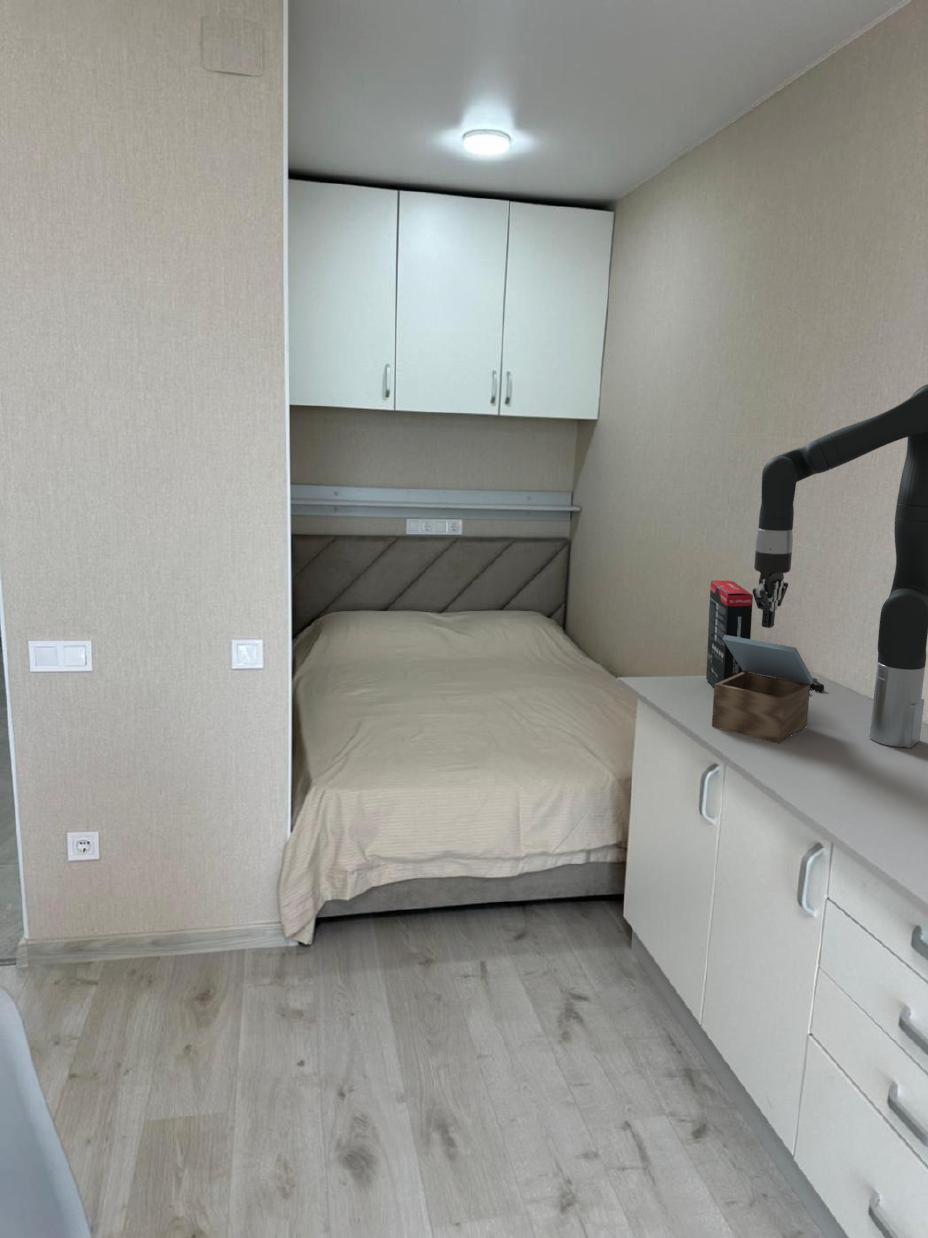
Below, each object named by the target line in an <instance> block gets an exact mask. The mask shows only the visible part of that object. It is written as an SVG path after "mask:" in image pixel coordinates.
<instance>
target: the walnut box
mask: <svg viewBox="0 0 928 1238" xmlns="http://www.w3.org/2000/svg"><path fill="white" fill-rule="evenodd" d="M810 693H811V689H810V685H807V684H803V683H798V682H793V681H788V680H783V679H778V678H775V677H770V676H765V675H760V674H756V673H751V672H745V671H743V672H741V673H739V674H736V675H734V676H732V677H730V678H727V679H725V680H723V681H721V682H718V683H716V684H714V688H713V701H712V703H713V704H712V720H711V727H713V728H718V729H721V730H725V731H730V732H733V733H737V734H739V735H740V734H741V735H744V736H748V737H751V738H752V737H753V738H757V739H760V740H763V741H764V740H765V741H768V742H772V743H775V742H777V743H776V744H781V743H783V742H784V741H786V740H787V738H788V739H789V738H791V737H792V736H791V735H793V734H794V735H796V734H797V732H798V731H799V732H801V731H803V730H804V729H803V728H805V727H806V726H808V715H809V714H808V713H809V706H810V705H809V704H810ZM806 728H807V727H806ZM806 728H805V729H806ZM802 729H803V730H802ZM800 730H801V731H800ZM799 732H798V733H799ZM795 733H796V734H795ZM794 735H793V736H794ZM790 736H791V737H790ZM780 742H781V743H780Z"/></svg>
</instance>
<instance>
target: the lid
mask: <svg viewBox="0 0 928 1238" xmlns="http://www.w3.org/2000/svg"><path fill="white" fill-rule="evenodd" d="M723 641H724V642H725V644H726V645H727V647H728V649H729V650H730V652H731V653H732V655H733V656H734V658H735V659H736V661H737V662H738V664H739V665H740V667H741V669H742V670H743V671H746V672H750V673H754V674H759V675H764V676H769V677H774V678H780V679H784V680H789V681H794V682H799V683H804V684H809V685H811V684H812V682H813V678H814V677H813V676H812V675H811V672H810V671H809V669H808V667H807V665H806V663H805V661H804V659H803V658H802V656H801V654H800V652H799V651H798V649H797V648H796V647H795V646H790V645H789V646H788V645H783V644H777V643H771V642H766V641H761V640H756V639H751V638H750V639H745V638H740V637H734V636H729V635H724V637H723Z"/></svg>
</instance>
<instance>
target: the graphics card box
mask: <svg viewBox="0 0 928 1238" xmlns="http://www.w3.org/2000/svg"><path fill="white" fill-rule="evenodd" d="M709 585H710V586H709V587H710V588H709V589H710V590H709V606H708V607H709V611H708V632H707V634H708V635H707V653H706V677H705V678H706V680H707V682H708V683H709V684H710V686H712V688H713V689H714V684H716V683H718V682H721V681H723V680H725V679H727V678H730V677H732V676H734V675H736V674H739V673H741V672H743V670H742V669H741V667H740V665H739V664H738V662H737V661H736V659H735V658H734V656H733V655H732V653H731V652H730V650H729V649H728V647H727V645H726V644H725V642H724V641H723V637H724V635H729V636H734V637H740V638H745V639H751V638H752V637H751V636H752V619H753V617H752V616H753V603H754V601H753V599H754V595H753V593H752V594H751V592H749V591H747V590H746V589H745V588H743V587H741V586H740V585H738V584H737V583H736V582H735V581H732V580H710V584H709ZM745 672H746V671H745Z"/></svg>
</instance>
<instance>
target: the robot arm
mask: <svg viewBox="0 0 928 1238" xmlns="http://www.w3.org/2000/svg"><path fill="white" fill-rule="evenodd" d="M905 438H907V443H906V444H907V445H906V455H905V460H904V464H903V468H902V473H901V478H900V481H899V482H900V483H899V488H898V494H897V499H896V506H895V507H896V508H895V513H894V514H895V515H894V548H895V561H896V562H895V569H894V574H893V579H892V585H891V589H890V593H889V596H888V598H886V599H885V601H884V602H883V605H882V606H881V611H880V617H879V624H878V636H877V637H878V639H877V652H878V653H877V664H876V672H875V679H874V680H875V682H874V683H875V684H874V691H873V700H872V701H873V702H872V710H871V711H872V712H871V718H870V720H871V721H870V728H869V738H870V739H871V740H872V741H874V742H876V743H878V744H882V745H884V746H885V745H886V746H890V747H896V748H897V747H899V748H902V747H903V748H908V749H911V748H912V747H914V746H915V745H916V744H918V743H919V742H920V740H921V732H922V723H923V714H924V707H925V699H924V698H922V697H923V689H924V688H923V687H924V679H925V671H926V670H925V669H926V663H927V643H928V383H926V384H924V385H922V386H921V387H919V388H918V389H916V390H915V391H914V392H913V394H911V396H910V398H908V399H905V400H904V401H903V402H902V403H900V404H897V405H896V406H895V407H892V408H890V409H889V410H886V411H883V412H882V413H880V414H878V415H875V416H872V417H870V418H867V419H865V420H860V421H858V422H855V423H852V424H850V425H847V426H844V427H841V428H840V429H837V430H835V431H833V432H829V433H827V434H825V435H824V436H823V435H822V436H820V437H818V438H815V440H811V441H810V442H809V443H808V442H807V444H805V445H802V446H800V447H797V448H794V449H792V450H789V451H786V452H784V453H782V454H779V455H777V456H774V457H772V458H770V459H769V460H768V461H767V462H766V463H765V465H764V467H763V469H762V471H761V472H762V473H761V504H760V509H759V515H758V516H759V517H758V526H757V527H758V530H757V534H756V540H755V541H756V542H755V551H754V553H755V554H754V567H753V568H754V570H755V571H756V572H759V573H760V575H759V579H758V587H757V588H755V587H753V588H752V595H753V599H754V601H755V604H756V607H757V609H760V610H761V611H762V616H761V617H762V618H761V627H762V628H766V629H770V628H773V627H774V626H775V617H776V611H777V610H778V607H781V605H782V603H783V600H784V597H785V596H786V593H787V589H788V587H789V583H788V582H785V581H784V580H785V579H784V578H785V576H784V574H787V573H790V571H791V567H792V553H793V545H794V544H793V543H794V538H793V537H794V535H793V530H794V529H793V528H794V516H795V510H794V509H795V508H794V507H795V506H794V502H795V496H796V490H797V489H796V487H797V483H798V482H800V481H803V480H804V479H806V478H809V477H811V476H813V475H816V474H818V475H819V474H822V473H824V472H825V473H826V472H828V471H830V470H832V469H835V468H837V467H839V466H842V465H844V464H847V463H849V462H852V461H853V460H856V459H858V458H860V457H862V456H864V455H867V454H869V453H871V452H872V451H875V450H878V449H880V448H882V447H884V446H886V445H890V444H891V443H894V442H897V441H899V440H902V439H905Z"/></svg>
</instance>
